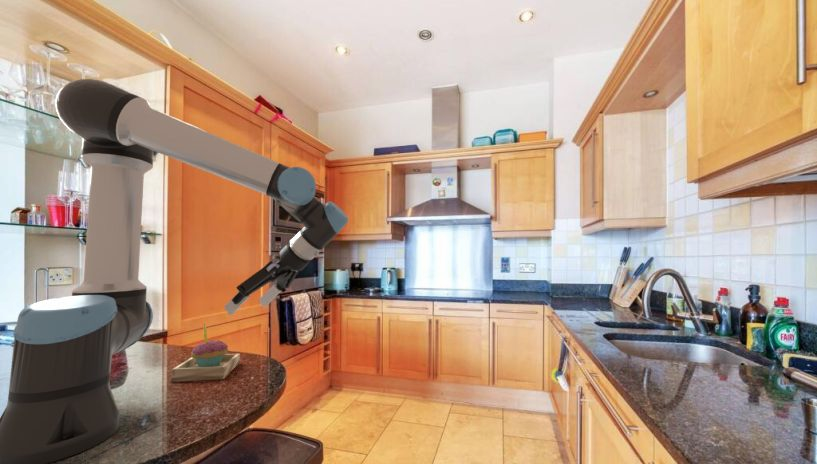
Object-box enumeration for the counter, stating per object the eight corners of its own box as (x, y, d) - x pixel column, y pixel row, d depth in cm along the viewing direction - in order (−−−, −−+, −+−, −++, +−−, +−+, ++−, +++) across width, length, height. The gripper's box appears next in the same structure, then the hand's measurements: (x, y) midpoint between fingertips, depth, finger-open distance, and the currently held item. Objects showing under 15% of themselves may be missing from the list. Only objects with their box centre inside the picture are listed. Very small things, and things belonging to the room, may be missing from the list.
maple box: (223, 379, 81) (224, 367, 82) (170, 381, 79) (171, 369, 80) (239, 364, 93) (240, 353, 94) (194, 366, 91) (194, 355, 91)
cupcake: (200, 375, 81) (204, 327, 82) (183, 369, 85) (186, 323, 86) (233, 366, 88) (236, 321, 89) (216, 360, 92) (218, 318, 93)
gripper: (282, 261, 72) (219, 327, 73) (328, 261, 96) (280, 310, 98) (262, 238, 73) (200, 302, 75) (312, 243, 98) (265, 292, 99)
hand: (246, 307), depth 86 cm, fingers open, 13 cm apart
